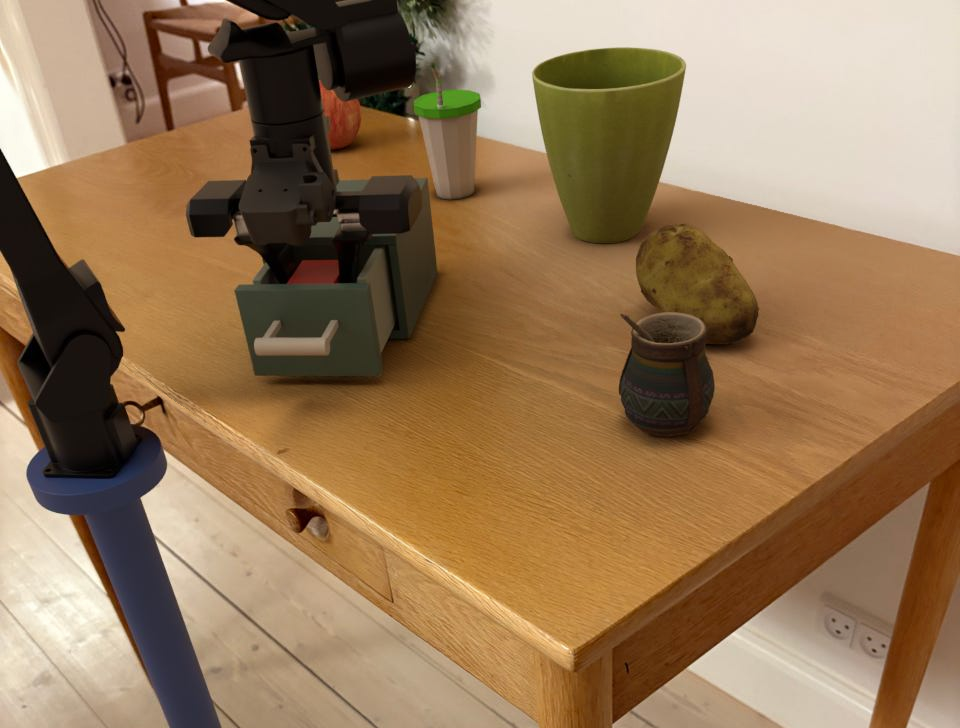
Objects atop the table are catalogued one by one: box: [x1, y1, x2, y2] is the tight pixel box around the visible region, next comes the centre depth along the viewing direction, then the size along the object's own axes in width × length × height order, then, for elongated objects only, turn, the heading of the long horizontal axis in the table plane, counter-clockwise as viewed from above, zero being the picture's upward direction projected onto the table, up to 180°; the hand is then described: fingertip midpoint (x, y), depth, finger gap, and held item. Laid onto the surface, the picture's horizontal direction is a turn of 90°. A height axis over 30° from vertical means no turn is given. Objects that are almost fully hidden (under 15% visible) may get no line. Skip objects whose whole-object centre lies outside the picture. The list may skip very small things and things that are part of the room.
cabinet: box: [261, 177, 439, 340], centre depth 100 cm, size 15×13×10 cm
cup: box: [413, 62, 482, 201], centre depth 120 cm, size 8×8×15 cm
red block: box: [287, 260, 340, 284], centre depth 91 cm, size 6×4×4 cm
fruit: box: [318, 76, 362, 151], centre depth 139 cm, size 9×10×10 cm
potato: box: [635, 223, 760, 345], centre depth 92 cm, size 8×13×8 cm, turn 13°
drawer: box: [234, 245, 398, 377], centre depth 91 cm, size 18×11×8 cm, turn 171°
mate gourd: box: [618, 312, 716, 437], centre depth 79 cm, size 7×8×10 cm
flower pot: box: [531, 46, 687, 244], centre depth 107 cm, size 15×15×16 cm
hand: (322, 305), depth 92 cm, fingers closed on red block, 4 cm apart
